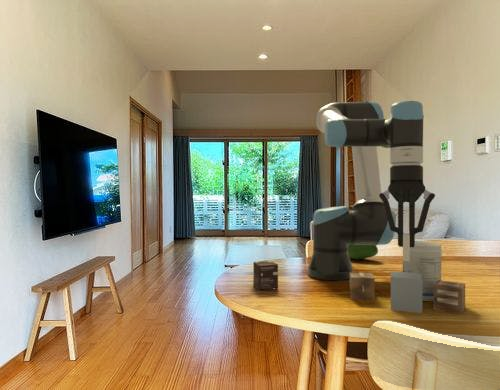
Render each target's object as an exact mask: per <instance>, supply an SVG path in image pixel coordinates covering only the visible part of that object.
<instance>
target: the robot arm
mask: <svg viewBox="0 0 500 390" xmlns="http://www.w3.org/2000/svg"><path fill="white" fill-rule="evenodd" d="M389 111H390V112H389V115H388V116H389V118H385V115H384V111H383V108H382V105H380V104H379V102H375V101H367V100H366V101H342V102H341V101H338V102H337V101H336V102H331V103H328V104H326V105H324V106H323V107H321V108H319V109H318V111H317V112H316V115H315V117H314V123H315V126H316V128H317V129H318V130H319V131H320V132H321V133H323V134H324V139H323V140H324V144H325V146H327V147H331V148H332V147H333V148H334V147H335V148H343V147H346V148H347V147H351V151H352V153H351V154H352V163H353V176H354V177H353V178H354V186H355V189H354V190H355V191H354V192H355V200H356V201H355V203H354V204H353V205H352V210H351V209H350V208H349V207H348V206H347V205H341V206H331V207H324V208H319V209H316V210H315V211H314V212H313V218H312V219H313V220H312V226H313V229H312V230H313V233H312V235H313V236H312V241H313V242H312V243H313V244H312V245H313V246H312V255H311V258H310V261H309V264H308V267H307V275H308V277H310V278H313V279H317V280H323V281H324V280H326V281H346V280H350V272H354V268H353V264H352V261H351V258H349V255H348V245H376V246H377V247H378V246H381V245H382V246H383V245H386V246H387V245H388V244H390V243H391V242H392V241H393V238H394V236H395V234H397V246H398V247H399V248H400V247H401V248H402V262H403V261H410V247H414V246H415V241H416V239H415V238H416V234H418V233H422V232H423V230H424V227H425V225H426V222H427V221H426V220H427V217H428V213H429V209H430V206H431V203H432V201H433V200H434V199H435V197H436V194H435V193H433V192H431V191H429V190H428V189H426V186H425V184H424V166H423V165H421V164H423V163H424V118H425V115H424V105H423V104H422V102H420V101H419V100H402V101H398V102H394V103H393V104H392V105H391V106H390V110H389ZM377 147H382V148H386V149H389V154H390V155H389V156H390V157H389V159H390V160H389V161H390V162H389V163H390V165H392V166H390V167H389V184H388V187H387V189H386V190H385V191H383V192H382V185H381V176H380V167H379V166H380V165H379V159H378V148H377ZM390 195H391V196H392V197H393V198H394V200H395V201H396V202H397V218H396V214H395V211H393V210H392V209H391V206H390V205H391V204H390V202H389V199H390ZM422 195H423V199H424V201H423V205H422V209H421V212H420V215H419V220H418V222H417V226H416V224H415V223H416V222H415V221H416V220H415V219H416V215H415V214H416V202H417V201H418V200H419V199H420V198H421V196H422ZM404 203H408V208H409V209H408V233H404Z"/></svg>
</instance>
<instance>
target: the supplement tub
mask: <svg viewBox="0 0 500 390" xmlns="http://www.w3.org/2000/svg"><path fill="white" fill-rule="evenodd" d="M442 253H443V251H442V244H441V243H439V242H435V241H434V242H433V241H427V240H425V241H423V240H415V246H414V247H410V261H403V260H402V272H409V273H421V276H422V302H434V284H435V283H436V282H437V281H438V280H442V261H443V259H442V258H443V257H442V256H443V255H442Z"/></svg>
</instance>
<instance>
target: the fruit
mask: <svg viewBox="0 0 500 390" xmlns="http://www.w3.org/2000/svg"><path fill="white" fill-rule="evenodd" d="M378 253H379V249H378V245H377V246H376V245H348V255H349V258H350V260H351V259H352V260H357V261H358V260H364V259H369V258H372V257H373V258H374V257H375V256H376V255H378Z"/></svg>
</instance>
